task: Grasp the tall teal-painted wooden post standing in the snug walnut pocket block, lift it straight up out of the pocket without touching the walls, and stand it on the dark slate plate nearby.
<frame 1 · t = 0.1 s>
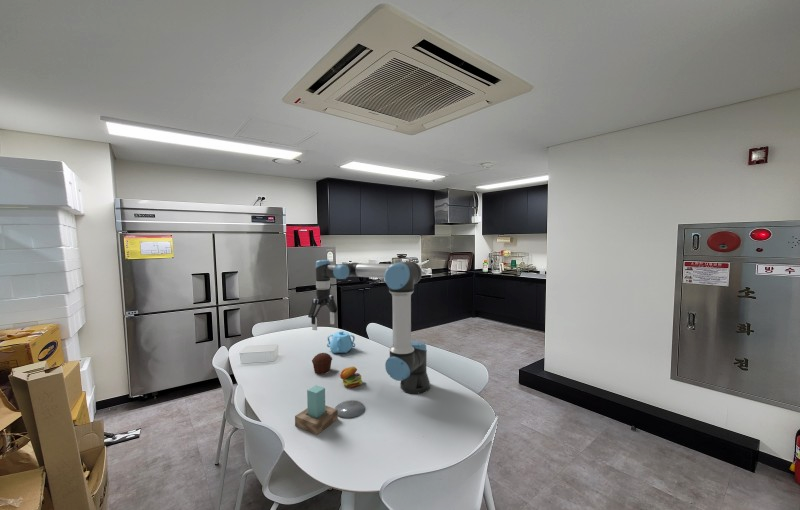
hand: (323, 326, 167), 28 cm above the table, fingers open, 13 cm apart
muffin: (322, 371, 177), on the table
holder: (316, 422, 126), on the table
cheeseburger: (351, 384, 160), on the table
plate: (349, 409, 135), on the table
post: (316, 405, 126), in the holder
decorative pot: (341, 351, 209), on the table
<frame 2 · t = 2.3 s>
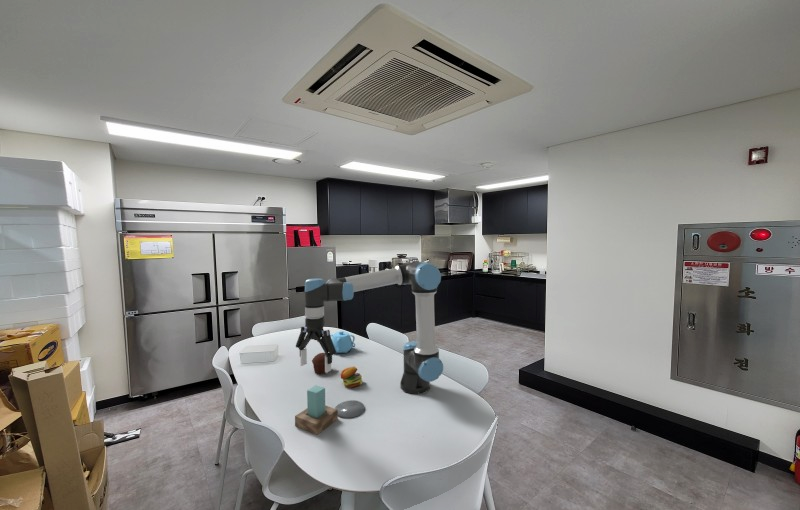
hand: (315, 368, 125), 23 cm above the table, fingers open, 13 cm apart
nothing on the table moved.
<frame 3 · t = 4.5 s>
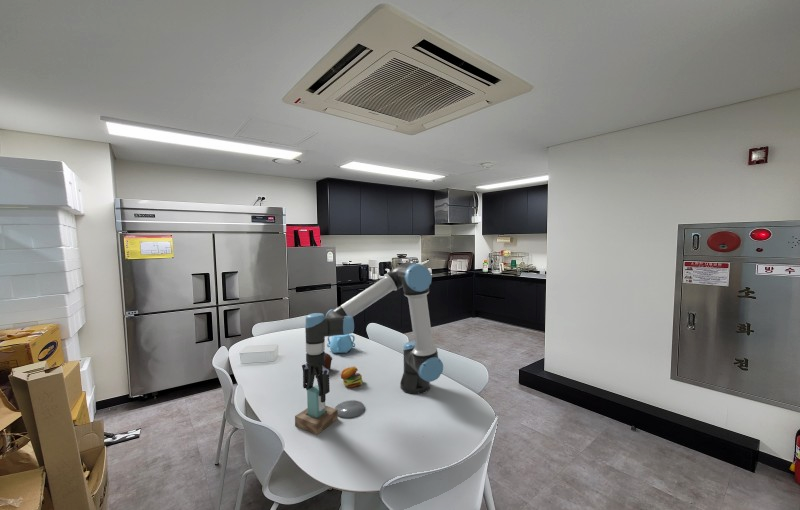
hand: (316, 407, 126), 6 cm above the table, fingers closed on post, 5 cm apart
post: (316, 405, 126), in the holder, touching gripper
everything else where it was.
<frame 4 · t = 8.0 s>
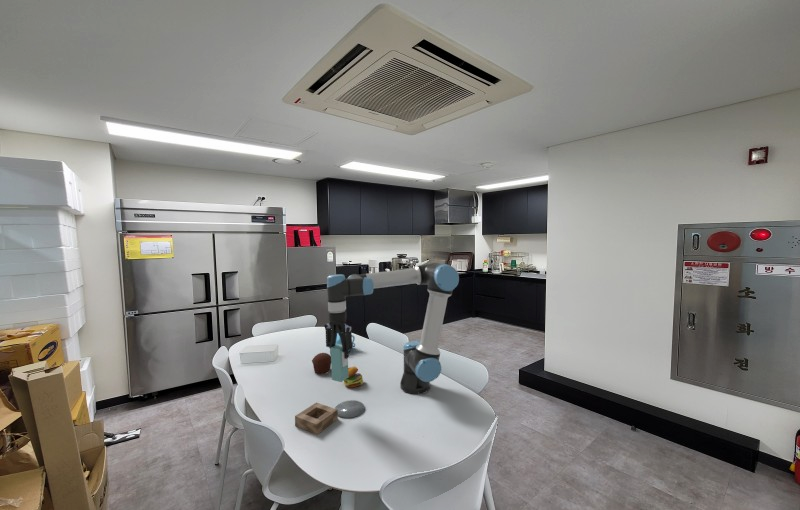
hand: (339, 364, 131), 22 cm above the table, fingers closed on post, 5 cm apart
post: (339, 362, 131), point 22 cm above the table, touching gripper
everything else where it was.
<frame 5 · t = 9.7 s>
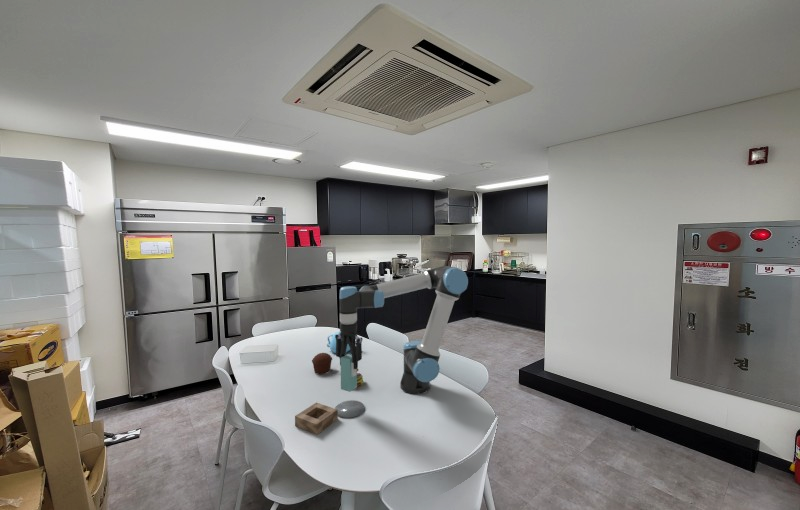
hand: (348, 374, 135), 16 cm above the table, fingers closed on post, 5 cm apart
post: (348, 372, 135), point 17 cm above the table, touching gripper
everything else where it was.
when the fingers open (8 cm above the table, at t = 11.4 s): post stays where it is, resting on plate.
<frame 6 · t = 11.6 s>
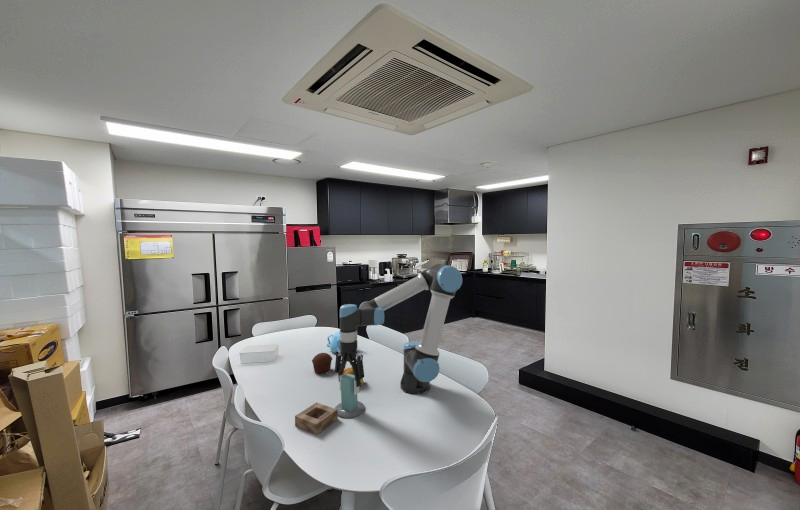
hand: (349, 391, 135), 8 cm above the table, fingers open, 7 cm apart
post: (349, 392, 135), on the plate, point 8 cm above the table
everything else where it was.
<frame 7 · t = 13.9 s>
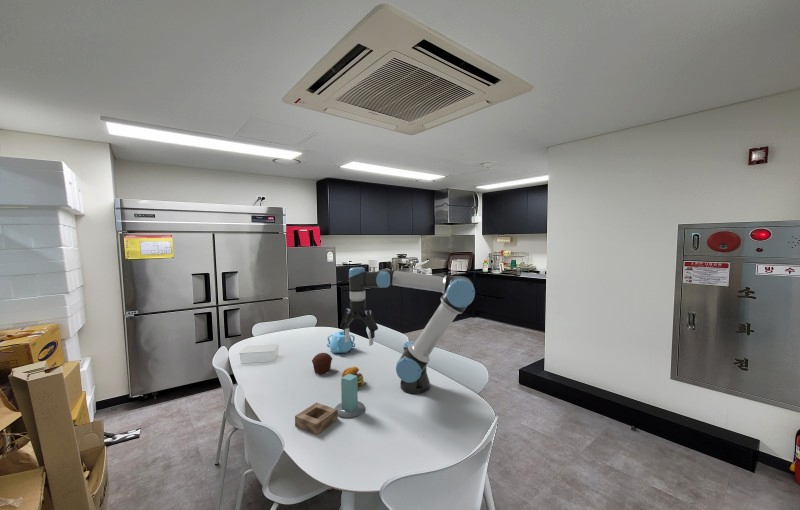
hand: (359, 343, 147), 25 cm above the table, fingers open, 13 cm apart
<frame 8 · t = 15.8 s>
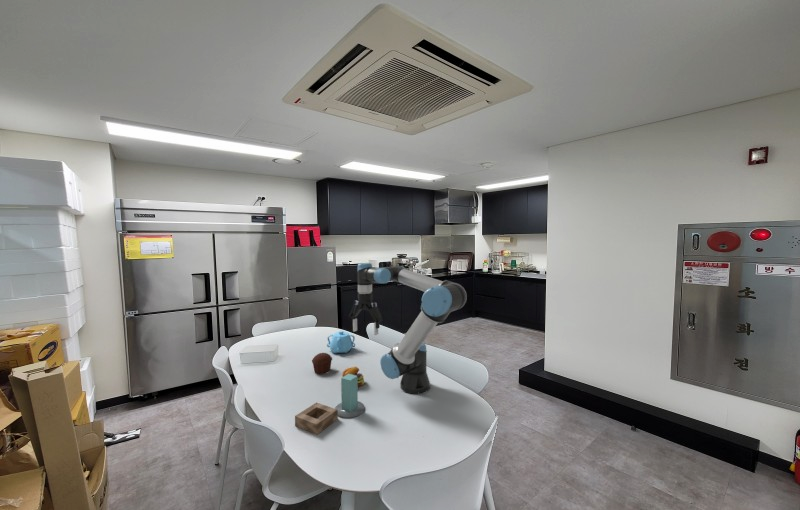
hand: (365, 332, 160), 27 cm above the table, fingers open, 13 cm apart
at the end: post inside the target area on the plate (0.0 cm from its centre), point 7.8 cm above the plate's base; post touching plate; post tilted 0° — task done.
